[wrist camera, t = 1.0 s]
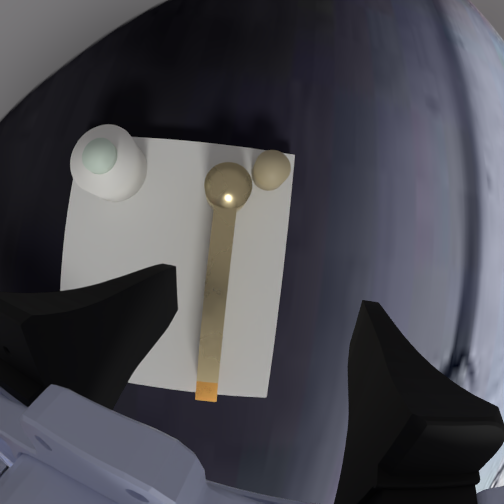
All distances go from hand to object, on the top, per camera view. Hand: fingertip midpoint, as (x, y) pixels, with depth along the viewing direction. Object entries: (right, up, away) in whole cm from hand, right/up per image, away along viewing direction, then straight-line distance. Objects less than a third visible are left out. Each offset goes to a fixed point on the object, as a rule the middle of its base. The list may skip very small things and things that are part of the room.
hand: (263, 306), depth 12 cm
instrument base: (-7, +1, +14) cm, 15 cm away
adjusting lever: (-3, 0, +12) cm, 13 cm away
